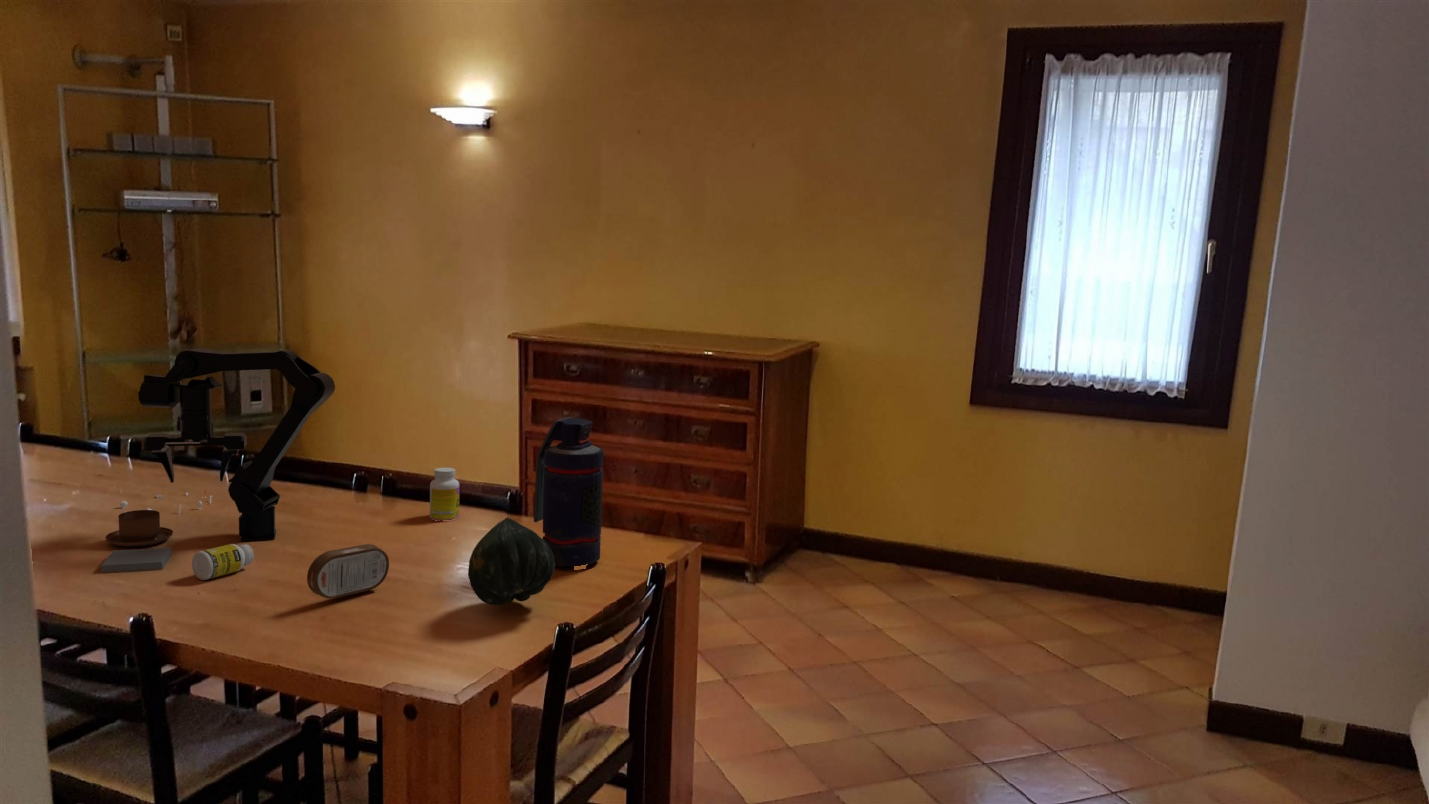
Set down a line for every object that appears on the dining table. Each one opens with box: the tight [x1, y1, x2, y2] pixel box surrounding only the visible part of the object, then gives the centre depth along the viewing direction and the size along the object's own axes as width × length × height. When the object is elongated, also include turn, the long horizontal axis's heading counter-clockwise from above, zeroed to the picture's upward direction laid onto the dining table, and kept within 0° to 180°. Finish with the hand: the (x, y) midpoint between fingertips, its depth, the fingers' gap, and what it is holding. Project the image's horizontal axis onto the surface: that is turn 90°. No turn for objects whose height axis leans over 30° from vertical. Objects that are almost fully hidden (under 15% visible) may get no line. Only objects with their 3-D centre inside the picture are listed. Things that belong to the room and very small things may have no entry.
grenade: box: [533, 416, 605, 567], centre depth 198 cm, size 14×12×30 cm
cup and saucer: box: [105, 509, 174, 548], centre depth 200 cm, size 12×12×6 cm
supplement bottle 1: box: [191, 543, 255, 581], centre depth 182 cm, size 5×5×10 cm
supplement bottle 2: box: [429, 467, 460, 521], centre depth 226 cm, size 7×7×13 cm
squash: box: [467, 517, 556, 606], centre depth 172 cm, size 14×15×15 cm
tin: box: [306, 543, 390, 600], centre depth 175 cm, size 15×3×8 cm, turn 141°
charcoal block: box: [100, 547, 172, 574], centre depth 186 cm, size 10×10×2 cm
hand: (197, 481), depth 205 cm, fingers open, 9 cm apart
